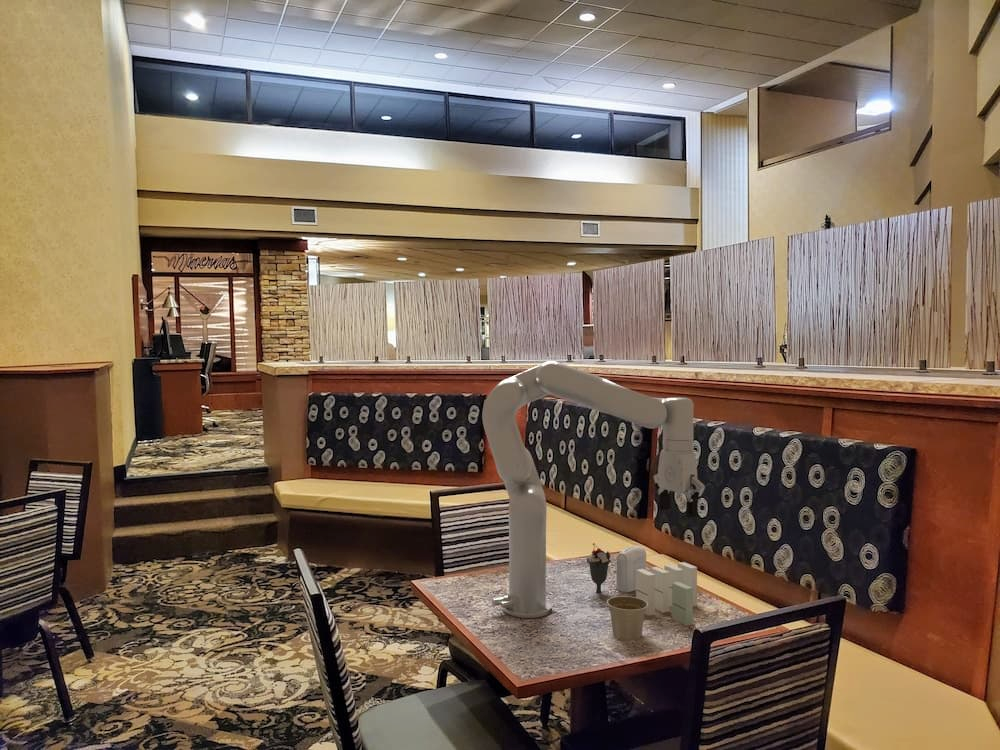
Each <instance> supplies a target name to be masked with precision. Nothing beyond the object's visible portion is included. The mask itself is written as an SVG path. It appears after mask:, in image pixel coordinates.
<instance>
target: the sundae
mask: <svg viewBox="0 0 1000 750" xmlns="http://www.w3.org/2000/svg"><path fill="white" fill-rule="evenodd" d="M592 545H593V546H594V547H596V548H597V549H596V550H595V549H593V550H592V551H591V554H590V555H589V557H587V558H586V562H587V564H588V566H589V572H590V577H591V580H592V582H593V583H595V585H596V589H595V590H596V591H595V593H596V594H599V595H600V594H602V593H603V592H602V585H603V584H604V583H605V582H606V581H607V577H608V572H609V571H608V570H609V563H611V562H612V559H610V558H611V554H610V551H608V550H607V551H606V552H605V551H604V550H602V549H601V548H599V547H597V545H596V544H595V543H594V542H593V543H592Z"/></svg>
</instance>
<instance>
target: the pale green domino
mask: <svg viewBox="0 0 1000 750" xmlns="http://www.w3.org/2000/svg"><path fill="white" fill-rule="evenodd" d="M693 611H694V610H693V588H692V587H690V586H687V585H685V584H683V583H680V582H675V583H672V615H671V619H672V620H674V621H676V622H678V623H680V624H681V625H683V626H685V627H686V626H691V625H692V626H693V619H694V618H693V616H694V615H693Z"/></svg>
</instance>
